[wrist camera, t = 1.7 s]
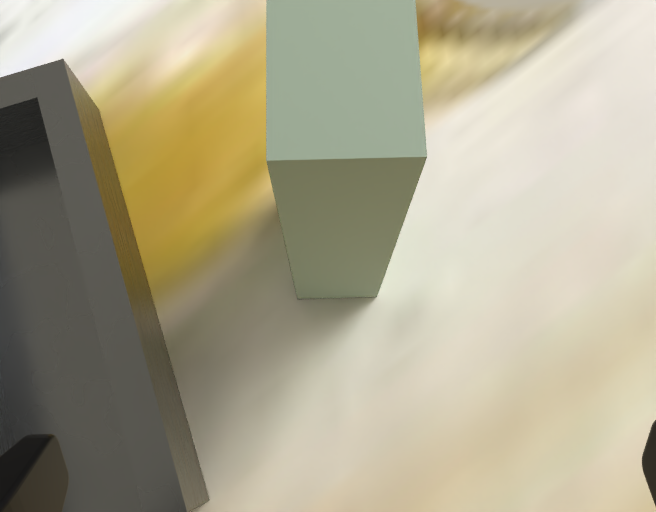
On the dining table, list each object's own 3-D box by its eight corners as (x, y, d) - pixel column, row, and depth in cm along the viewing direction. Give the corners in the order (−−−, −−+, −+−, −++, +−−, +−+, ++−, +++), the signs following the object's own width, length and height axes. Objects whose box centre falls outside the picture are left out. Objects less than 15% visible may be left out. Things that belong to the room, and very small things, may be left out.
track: (209, 500, 22) (187, 512, 18) (15, 572, 21) (-46, 599, 18) (98, 108, 26) (63, 58, 22) (-67, 159, 25) (-130, 116, 22)
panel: (371, 188, 25) (412, -40, 13) (376, 297, 24) (426, 156, 12) (295, 190, 25) (266, -37, 13) (297, 298, 24) (266, 160, 12)
